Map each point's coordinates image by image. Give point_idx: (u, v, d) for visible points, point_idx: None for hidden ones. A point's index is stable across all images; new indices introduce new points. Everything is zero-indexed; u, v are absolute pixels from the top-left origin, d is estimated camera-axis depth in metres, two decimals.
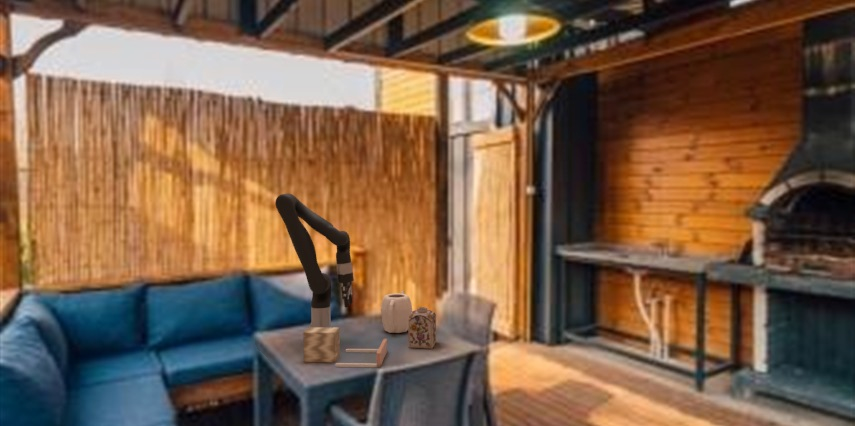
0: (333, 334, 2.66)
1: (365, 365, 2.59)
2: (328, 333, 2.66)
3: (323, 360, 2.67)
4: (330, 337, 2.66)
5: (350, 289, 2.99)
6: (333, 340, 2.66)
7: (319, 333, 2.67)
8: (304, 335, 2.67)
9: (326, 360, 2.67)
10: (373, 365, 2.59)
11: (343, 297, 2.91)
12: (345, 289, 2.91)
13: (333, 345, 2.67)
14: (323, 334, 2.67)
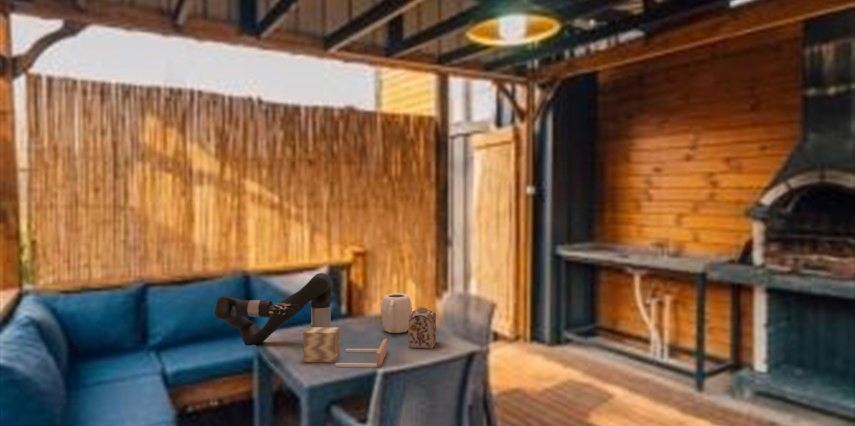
0: (333, 334, 2.66)
1: (365, 365, 2.59)
2: (328, 333, 2.66)
3: (323, 360, 2.67)
4: (330, 337, 2.66)
5: (281, 305, 2.73)
6: (333, 340, 2.66)
7: (319, 333, 2.67)
8: (304, 335, 2.67)
9: (326, 360, 2.67)
10: (373, 365, 2.59)
11: (280, 313, 2.65)
12: (271, 310, 2.65)
13: (333, 345, 2.67)
14: (323, 334, 2.67)
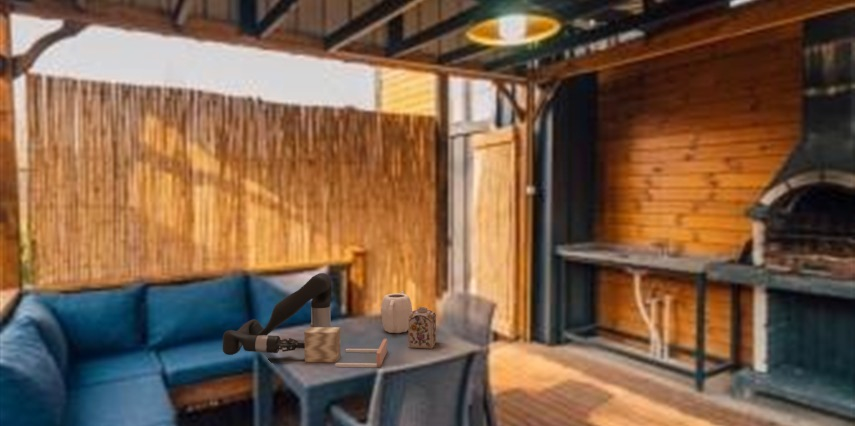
0: (334, 334, 2.66)
1: (365, 365, 2.59)
2: (329, 333, 2.66)
3: (324, 360, 2.67)
4: (331, 337, 2.66)
5: (287, 341, 2.72)
6: (334, 340, 2.67)
7: (320, 333, 2.67)
8: (305, 335, 2.67)
9: (327, 360, 2.67)
10: (373, 365, 2.59)
11: (293, 348, 2.68)
12: (286, 347, 2.66)
13: (334, 345, 2.67)
14: (324, 334, 2.67)
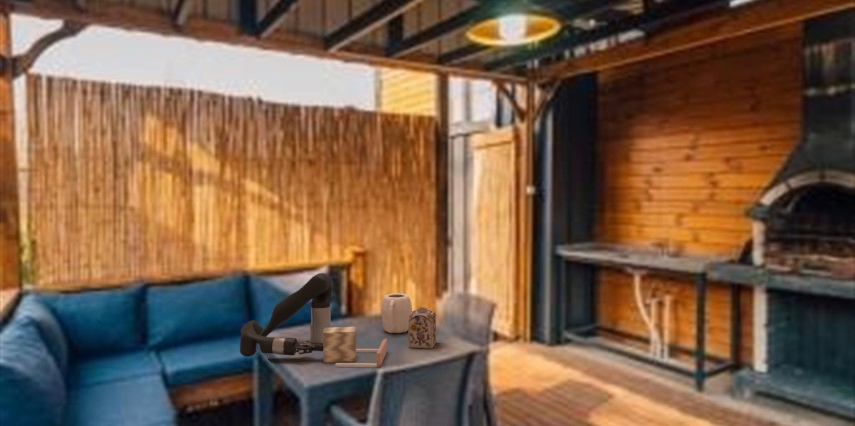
0: (354, 333, 2.67)
1: (365, 365, 2.59)
2: (348, 332, 2.67)
3: (343, 359, 2.68)
4: (351, 336, 2.67)
5: None
6: (354, 339, 2.68)
7: (339, 333, 2.67)
8: (324, 335, 2.66)
9: (346, 359, 2.68)
10: (373, 365, 2.59)
11: (310, 351, 2.67)
12: (302, 349, 2.65)
13: (354, 344, 2.68)
14: (343, 333, 2.67)
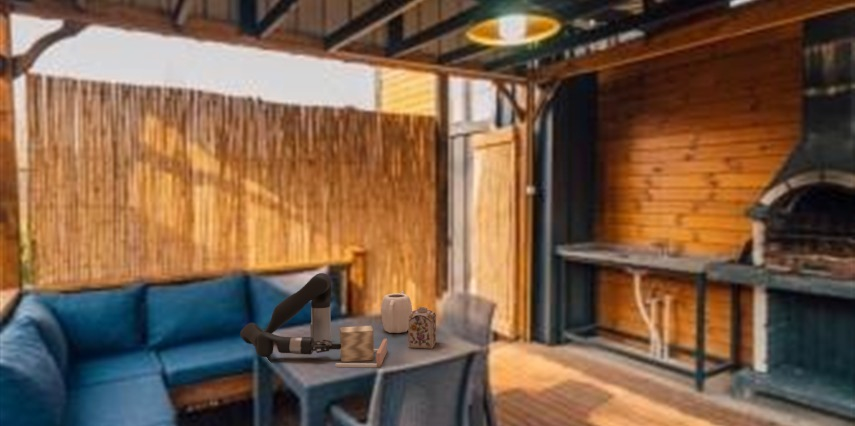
0: (371, 332, 2.69)
1: (365, 365, 2.59)
2: (366, 331, 2.68)
3: (361, 359, 2.68)
4: (368, 335, 2.68)
5: (321, 342, 2.71)
6: (371, 338, 2.69)
7: (357, 332, 2.67)
8: (342, 335, 2.66)
9: (364, 358, 2.69)
10: (373, 365, 2.59)
11: (327, 349, 2.67)
12: (320, 348, 2.65)
13: (371, 343, 2.69)
14: (361, 333, 2.68)
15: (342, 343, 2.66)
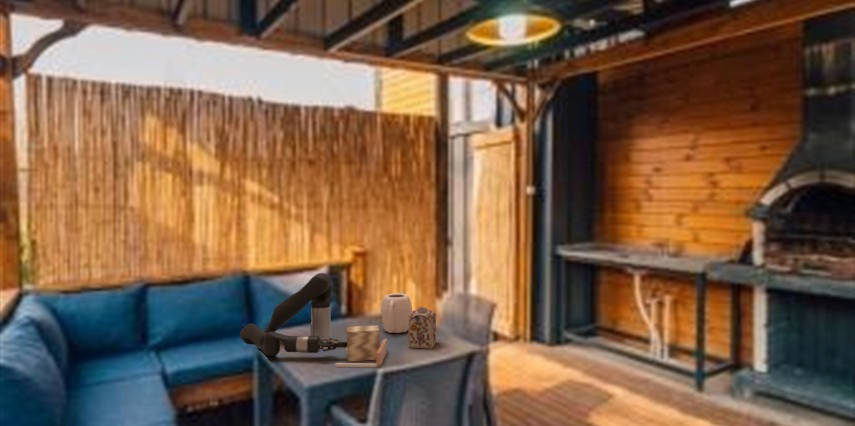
0: (378, 332, 2.69)
1: (365, 365, 2.59)
2: (373, 331, 2.69)
3: (367, 358, 2.69)
4: (375, 335, 2.69)
5: None
6: (378, 338, 2.69)
7: (364, 332, 2.68)
8: (348, 334, 2.67)
9: (370, 358, 2.69)
10: (373, 365, 2.59)
11: (334, 348, 2.68)
12: (326, 346, 2.66)
13: (378, 343, 2.69)
14: (368, 332, 2.68)
15: (349, 343, 2.67)
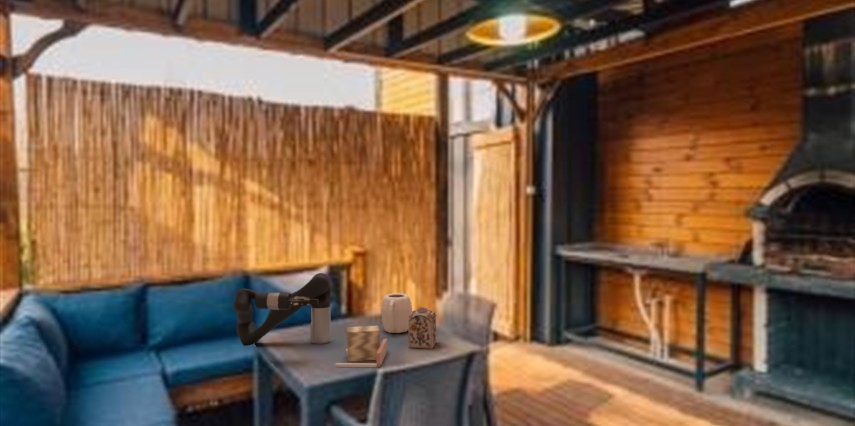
0: (378, 332, 2.69)
1: (365, 365, 2.59)
2: (373, 331, 2.69)
3: (368, 358, 2.69)
4: (375, 335, 2.69)
5: None
6: (378, 338, 2.69)
7: (364, 332, 2.68)
8: (348, 335, 2.67)
9: (371, 358, 2.69)
10: (373, 365, 2.59)
11: (305, 304, 2.68)
12: (297, 302, 2.65)
13: (378, 343, 2.69)
14: (368, 333, 2.68)
15: (349, 343, 2.67)
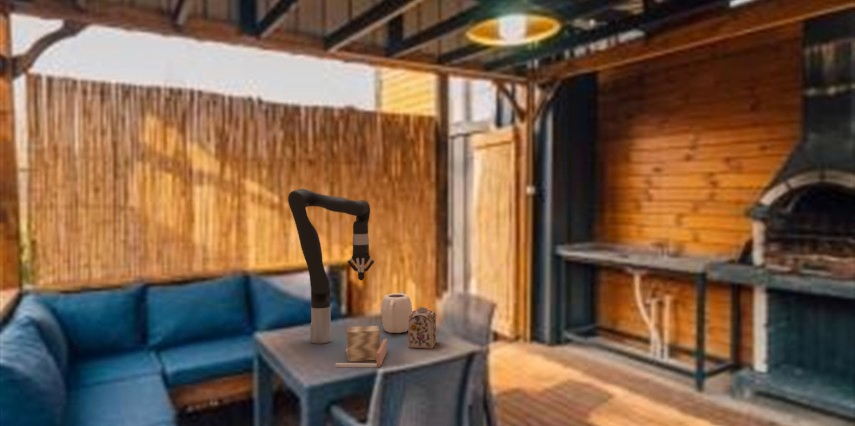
0: (378, 332, 2.69)
1: (365, 365, 2.59)
2: (373, 331, 2.69)
3: (368, 358, 2.69)
4: (375, 335, 2.69)
5: None
6: (378, 338, 2.69)
7: (364, 332, 2.68)
8: (348, 335, 2.67)
9: (371, 358, 2.69)
10: (373, 365, 2.59)
11: (367, 269, 2.86)
12: None
13: (378, 343, 2.69)
14: (368, 333, 2.68)
15: (349, 343, 2.67)
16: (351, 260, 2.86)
